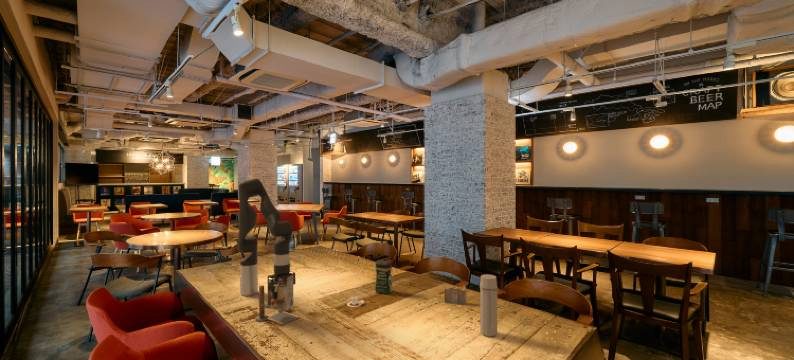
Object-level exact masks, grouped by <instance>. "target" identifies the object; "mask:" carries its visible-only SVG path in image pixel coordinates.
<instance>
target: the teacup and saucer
mask: <svg viewBox="0 0 794 360" xmlns="http://www.w3.org/2000/svg"><path fill="white" fill-rule="evenodd" d="M350 304H352V305H350ZM364 304H365V301H364V300H359V301H358V296H351V297H350V298H349V302H347V304H346V305H347V307H351V308H356V307H361V306H362V305H364Z"/></svg>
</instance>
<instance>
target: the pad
mask: <svg viewBox="0 0 794 360" xmlns="http://www.w3.org/2000/svg"><path fill="white" fill-rule="evenodd" d="M298 319H300V316H299V315H295V314H293V313H290V312H284V311H283V312H281V313H280V312H278V313H277V314H273V315H271V316H269V318H267V320H266V321H270V322H272V323H275V324H277V325H279V326H285V325H287V324H288V323H291V322H294V321H296V320H298Z"/></svg>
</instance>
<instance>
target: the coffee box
mask: <svg viewBox="0 0 794 360" xmlns="http://www.w3.org/2000/svg"><path fill="white" fill-rule="evenodd" d="M270 275H271V278H274V276H275V274H274V273H273V274H270ZM278 283H280V284H279V285H280V287H279V288H278V289H277V299H276V300H275V299H273V298H272V291H271V308H270V309H272V310H273V309H274V310H278V309H279V310H288V309H290V308H293V307H294V285H293V274H292V273H290V272H289V273H288V274H284V275H281V276H278V282H277V281H276V280H274V285H275V284H276V285H277V284H278ZM275 287H276V286H275Z"/></svg>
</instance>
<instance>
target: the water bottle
mask: <svg viewBox="0 0 794 360" xmlns="http://www.w3.org/2000/svg"><path fill="white" fill-rule="evenodd" d="M479 289H480V302H479V303H480V305H479V306H480V312H479V313H480V316H479V317H480V322H479V323H480V325H479V326H480V334H481V335H483V336H485V337H488V338H492V337H495V336H497V335H498V291H500V290H499V287H498V281H497V276H496V275H493V274H482V275H480V282H479Z"/></svg>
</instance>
